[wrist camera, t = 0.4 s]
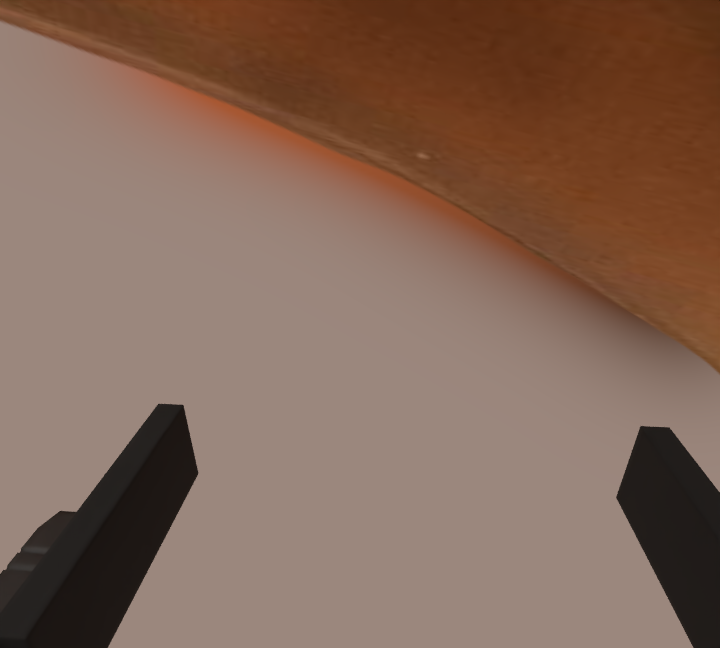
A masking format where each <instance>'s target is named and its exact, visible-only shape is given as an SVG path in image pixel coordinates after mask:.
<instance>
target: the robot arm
mask: <svg viewBox="0 0 720 648" xmlns="http://www.w3.org/2000/svg"><path fill="white" fill-rule="evenodd" d="M197 475H198V470H197V466H196V461H195V456H194V452H193V447H192V443H191V438H190V433H189V429H188V424H187V419H186V415H185V410H184V406H183V405H172V404H158V405H157V407H156V408H155V409H154V411H153V412H152V413H151V415H150V416H149V417H148V418H147V420H146V421H145V422H144V424H143V425H142V426H141V428H140V429H139V430H138V432H137V433H136V434H135V436H134V437H133V438H132V440H131V441H130V442H129V444H128V445H127V446H126V448H125V449H124V450H123V452H122V453H121V454H120V455H119V457H118V458H117V459H116V461H115V462H114V463H113V465H112V466H111V467H110V469H109V470H108V471H107V473H106V474H105V475H104V477H103V478H102V479H101V481H100V482H99V483H98V485H97V486H96V487H95V489H94V490H93V491H92V492H91V494H90V495H89V496H88V498H87V499H86V500H85V502H84V503H83V504H82V506H81V507H80V508H79V510H78V511H77V512H66V511H60V512H58V513H57V514H56V515H54V516H53V517H52V518H50V519H49V520H48V521H47V522H45V523H44V524H43V525H42V526H40V527H39V528H38V529H37V530H36V531H35V532H34V533H33V535H32V536H31V537H30V538H29V540H28V541H27V542H26V543H25V545H24V546H23V547H22V548H21V552H20V553H17V554H16V556H15V557H14V558H13V559H12V561H11V562H10V563H9V564H8V566H7V569H6V570H3V571H2V573H1V574H0V648H108V646H109V644H110V642H111V640H112V638H113V636H114V634H115V633H116V631H117V629H118V627H119V625H120V623H121V621H122V619H123V617H124V615H125V613H126V611H127V610H128V607H129V606H130V604H131V602H132V600H133V598H134V596H135V594H136V592H137V590H138V588H139V586H140V585H141V583H142V581H143V579H144V577H145V575H146V573H147V571H148V569H149V567H150V565H151V563H152V562H153V560H154V558H155V555H156V554H157V552H158V550H159V548H160V546H161V544H162V542H163V540H164V538H165V537H166V535H167V533H168V531H169V529H170V527H171V525H172V523H173V521H174V519H175V517H176V515H177V514H178V512H179V510H180V508H181V506H182V504H183V502H184V500H185V498H186V496H187V494H188V492H189V491H190V489H191V486H192V485H193V483H194V481H195V479H196V477H197ZM616 498H617V500H618V502H619V504H620V506H621V508H622V510H623V512H624V514H625V515H626V517H627V519H628V521H629V523H630V525H631V527H632V529H633V531H634V533H635V535H636V537H637V539H638V541H639V542H640V545H641V547H642V549H643V550H644V552H645V554H646V556H647V558H648V560H649V562H650V564H651V566H652V568H653V570H654V572H655V574H656V575H657V578H658V580H659V581H660V583H661V585H662V587H663V589H664V591H665V593H666V595H667V597H668V599H669V601H670V603H671V605H672V607H673V609H674V610H675V613H676V614H677V617H678V618H679V620H680V622H681V624H682V626H683V628H684V630H685V632H686V634H687V636H688V638H689V640H690V642H691V644H692V646H693V647H694V648H720V492H719V491H718V490H717V489H716V487H715V486H714V485H713V483H712V482H711V481H710V480H709V478H708V477H707V476H706V474H705V473H704V472H703V470H702V469H701V468H700V467H699V465H698V464H697V463H696V461H695V460H694V459H693V458H692V456H691V455H690V454H689V452H688V451H687V450H686V448H685V447H684V446H683V445H682V443H681V442H680V441H679V439H678V438H677V437H676V436H675V434H674V433H673V432H672V430H671V429H670V428H667V427H645V426H641V427H640V430H639V433H638V435H637V438H636V441H635V444H634V447H633V450H632V453H631V456H630V459H629V462H628V465H627V468H626V470H625V474H624V476H623V479H622V482H621V485H620V488H619V491H618V494H617V497H616Z"/></svg>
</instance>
